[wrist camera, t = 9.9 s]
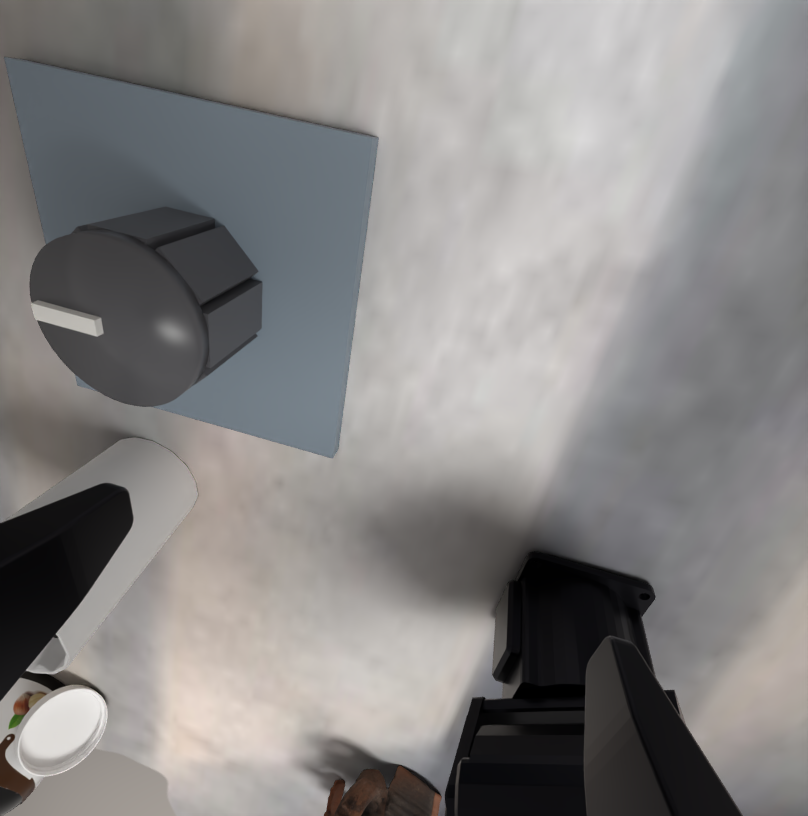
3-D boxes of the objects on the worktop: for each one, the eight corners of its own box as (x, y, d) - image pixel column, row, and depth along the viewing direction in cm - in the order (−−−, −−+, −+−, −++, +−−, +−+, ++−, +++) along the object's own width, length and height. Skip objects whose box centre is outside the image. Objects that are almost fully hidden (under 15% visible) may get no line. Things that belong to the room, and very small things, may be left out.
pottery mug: (463, 807, 43) (416, 919, 39) (385, 745, 49) (338, 837, 45) (411, 779, 35) (347, 914, 31) (327, 710, 41) (264, 816, 37)
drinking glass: (98, 413, 27) (-98, 546, 18) (208, 457, 27) (61, 610, 18) (104, 495, 30) (-57, 638, 22) (201, 534, 30) (76, 692, 22)
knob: (263, 230, 18) (184, 262, 14) (260, 369, 22) (195, 429, 18) (118, 194, 19) (0, 215, 15) (137, 335, 22) (45, 385, 18)
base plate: (378, 137, 17) (341, 141, 13) (338, 449, 24) (307, 501, 21) (23, 59, 18) (-92, 44, 15) (89, 378, 25) (23, 417, 22)
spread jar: (-5, 674, 49) (-136, 811, 40) (14, 634, 43) (-134, 782, 34) (97, 732, 51) (-4, 876, 42) (129, 701, 45) (20, 860, 36)
